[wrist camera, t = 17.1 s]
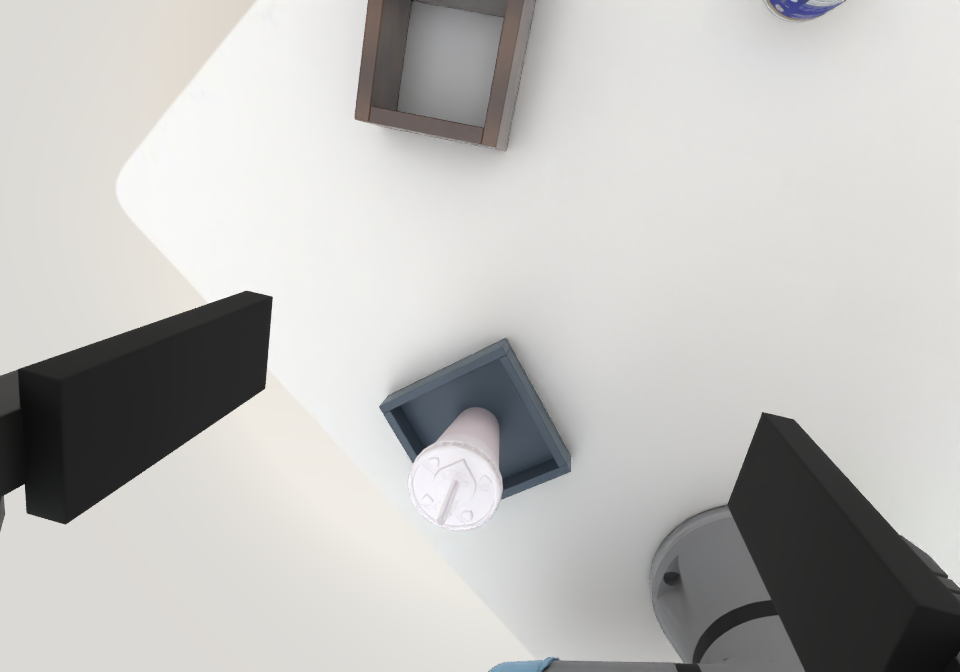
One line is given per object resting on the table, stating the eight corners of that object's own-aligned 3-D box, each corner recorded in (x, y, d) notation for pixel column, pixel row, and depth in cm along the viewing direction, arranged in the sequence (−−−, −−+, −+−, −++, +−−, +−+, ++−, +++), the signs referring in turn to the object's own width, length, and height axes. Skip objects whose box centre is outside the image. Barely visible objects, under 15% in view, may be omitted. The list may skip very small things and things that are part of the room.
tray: (571, 456, 46) (571, 471, 44) (453, 504, 49) (447, 521, 47) (506, 337, 44) (502, 346, 42) (388, 395, 47) (378, 406, 45)
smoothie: (526, 407, 45) (506, 503, 32) (502, 473, 47) (473, 590, 34) (451, 380, 45) (401, 464, 32) (430, 447, 47) (374, 552, 34)
